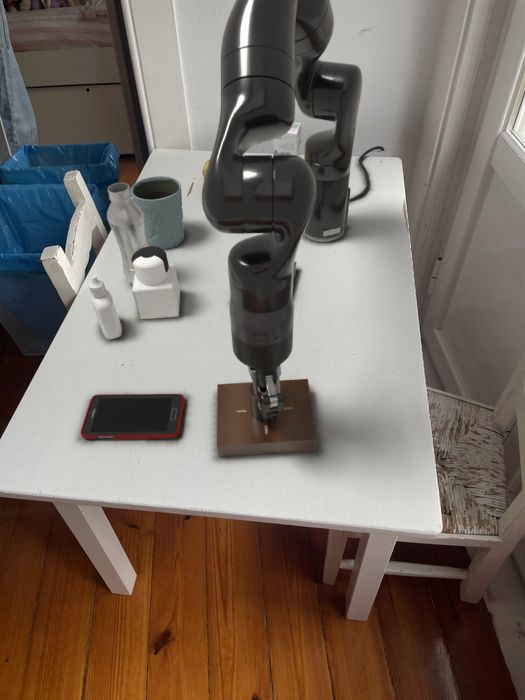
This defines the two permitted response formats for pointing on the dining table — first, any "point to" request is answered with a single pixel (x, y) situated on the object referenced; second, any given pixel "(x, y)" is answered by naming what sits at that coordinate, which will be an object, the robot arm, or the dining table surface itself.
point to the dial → (254, 403)
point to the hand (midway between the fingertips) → (263, 406)
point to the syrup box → (289, 142)
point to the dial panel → (265, 438)
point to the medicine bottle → (155, 284)
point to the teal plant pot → (161, 210)
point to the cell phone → (133, 416)
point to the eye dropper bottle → (105, 309)
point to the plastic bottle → (126, 225)
